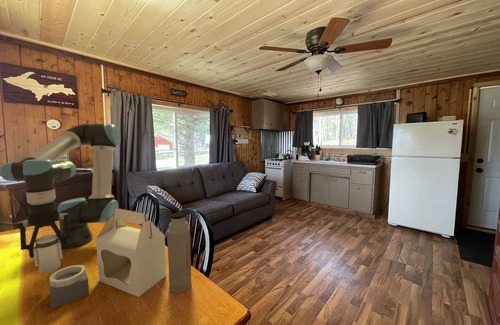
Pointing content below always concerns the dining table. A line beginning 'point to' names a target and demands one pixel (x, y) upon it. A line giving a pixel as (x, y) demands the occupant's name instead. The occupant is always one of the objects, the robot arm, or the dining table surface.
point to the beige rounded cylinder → (48, 253)
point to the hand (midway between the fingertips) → (49, 260)
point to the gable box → (131, 253)
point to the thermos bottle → (179, 254)
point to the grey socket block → (68, 285)
